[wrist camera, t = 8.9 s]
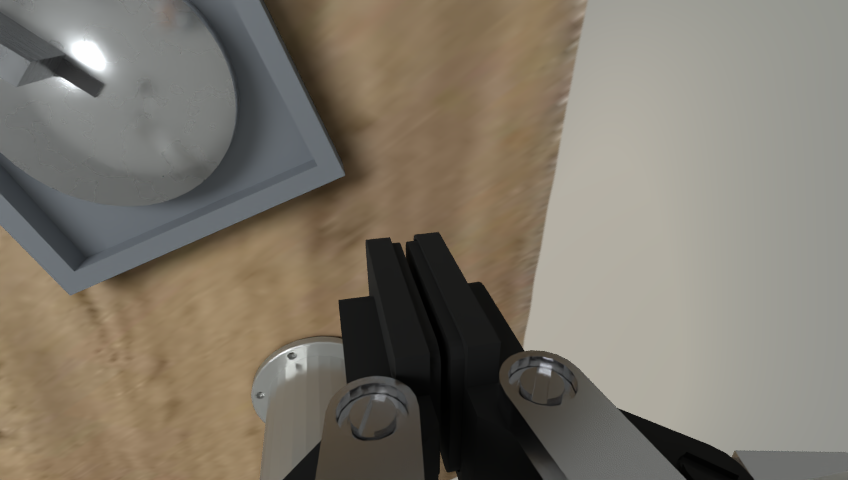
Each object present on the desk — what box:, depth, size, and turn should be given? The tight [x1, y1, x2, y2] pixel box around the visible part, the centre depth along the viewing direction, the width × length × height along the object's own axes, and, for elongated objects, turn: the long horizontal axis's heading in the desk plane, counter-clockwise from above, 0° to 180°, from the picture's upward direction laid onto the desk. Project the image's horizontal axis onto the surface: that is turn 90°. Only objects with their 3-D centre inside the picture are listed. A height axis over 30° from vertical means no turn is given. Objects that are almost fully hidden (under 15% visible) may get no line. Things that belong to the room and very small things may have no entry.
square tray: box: [0, 0, 345, 295], centre depth 30 cm, size 22×22×3 cm
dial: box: [0, 0, 240, 206], centre depth 27 cm, size 15×15×6 cm
